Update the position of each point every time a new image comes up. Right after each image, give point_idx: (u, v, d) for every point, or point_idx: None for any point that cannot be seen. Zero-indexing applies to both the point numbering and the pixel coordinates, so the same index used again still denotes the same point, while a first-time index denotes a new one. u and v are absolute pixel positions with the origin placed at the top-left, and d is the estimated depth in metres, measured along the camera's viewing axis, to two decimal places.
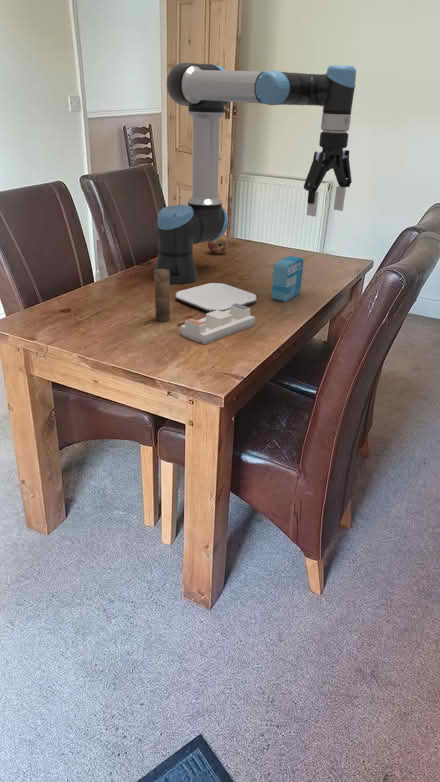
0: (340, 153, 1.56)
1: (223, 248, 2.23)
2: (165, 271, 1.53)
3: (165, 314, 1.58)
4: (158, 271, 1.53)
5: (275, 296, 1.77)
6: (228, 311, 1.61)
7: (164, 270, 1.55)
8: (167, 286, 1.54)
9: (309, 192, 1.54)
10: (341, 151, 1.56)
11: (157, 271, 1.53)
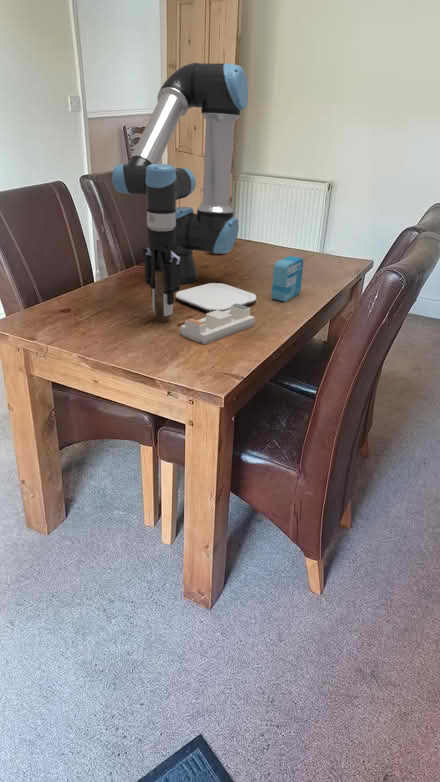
0: (165, 250, 1.48)
1: None
2: None
3: None
4: (158, 271, 1.53)
5: (275, 296, 1.77)
6: (228, 311, 1.61)
7: None
8: None
9: None
10: (166, 250, 1.48)
11: (157, 271, 1.53)
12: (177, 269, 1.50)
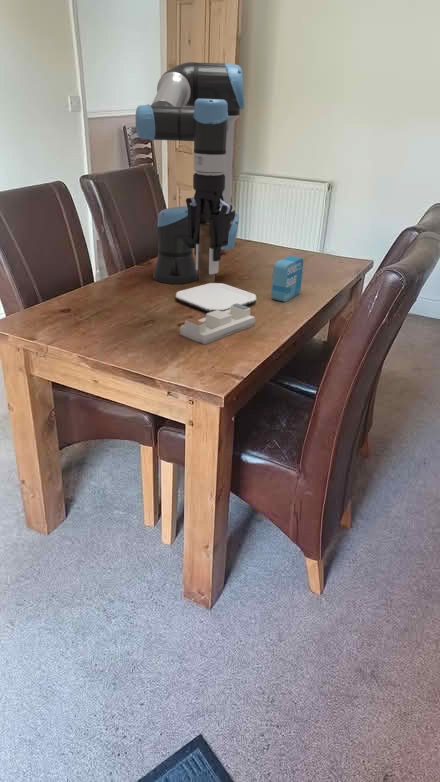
0: (213, 198, 1.32)
1: None
2: None
3: (210, 274, 1.42)
4: (204, 224, 1.37)
5: (275, 296, 1.77)
6: (228, 311, 1.61)
7: None
8: None
9: None
10: (215, 197, 1.32)
11: (202, 224, 1.37)
12: (226, 219, 1.33)
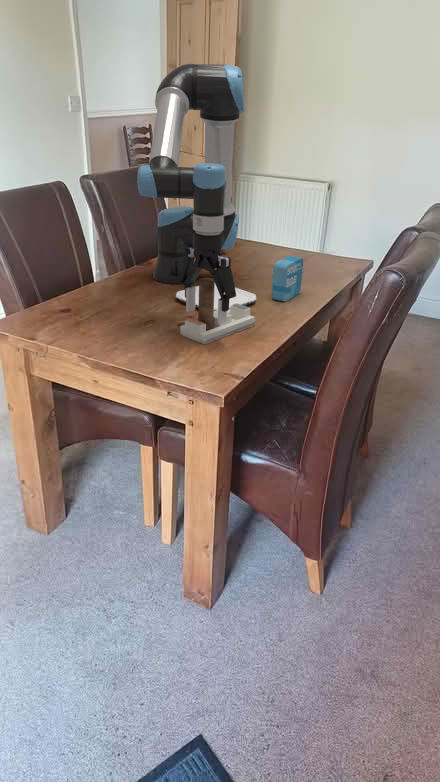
0: (211, 256, 1.39)
1: None
2: (210, 280, 1.44)
3: (208, 326, 1.48)
4: (203, 280, 1.44)
5: (275, 296, 1.77)
6: (228, 311, 1.61)
7: (209, 278, 1.45)
8: (212, 296, 1.45)
9: None
10: (213, 255, 1.39)
11: (202, 280, 1.44)
12: (228, 271, 1.39)
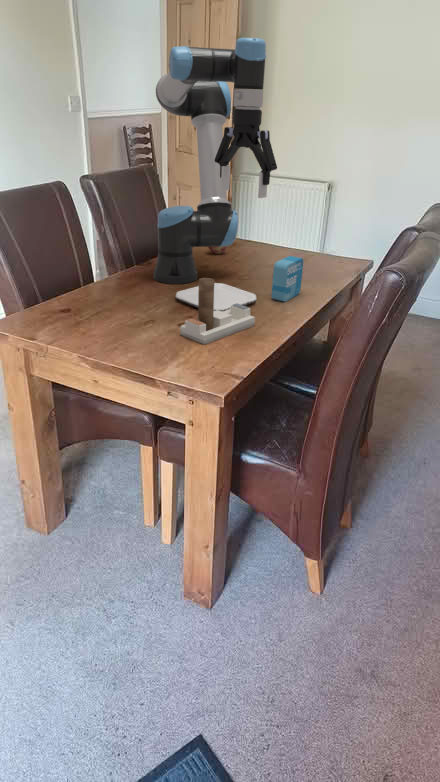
0: (250, 132, 1.47)
1: (223, 248, 2.23)
2: (210, 280, 1.44)
3: (208, 326, 1.48)
4: (202, 280, 1.44)
5: (275, 296, 1.77)
6: (228, 311, 1.61)
7: (208, 279, 1.45)
8: (212, 296, 1.45)
9: None
10: (252, 130, 1.46)
11: (201, 280, 1.44)
12: (268, 144, 1.46)
